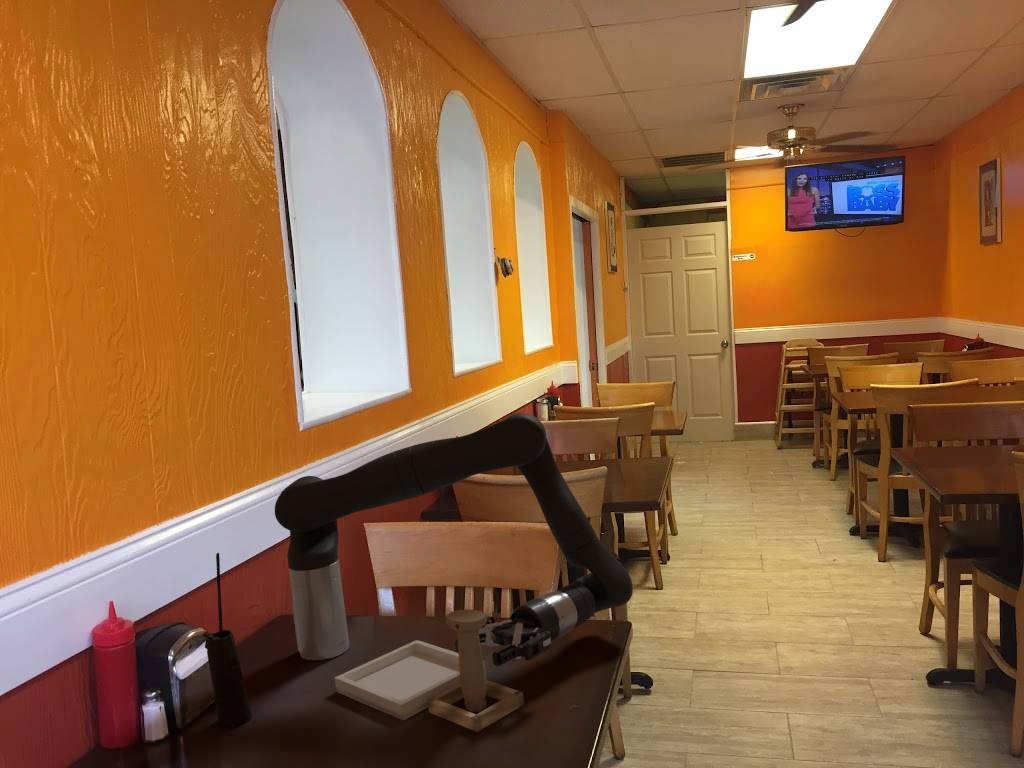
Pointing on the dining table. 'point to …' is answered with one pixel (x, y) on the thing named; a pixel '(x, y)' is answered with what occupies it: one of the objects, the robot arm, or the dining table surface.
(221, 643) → the butter churn
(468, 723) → the wooden square frame
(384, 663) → the tray
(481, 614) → the handle
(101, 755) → the dining table surface
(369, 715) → the dining table surface
